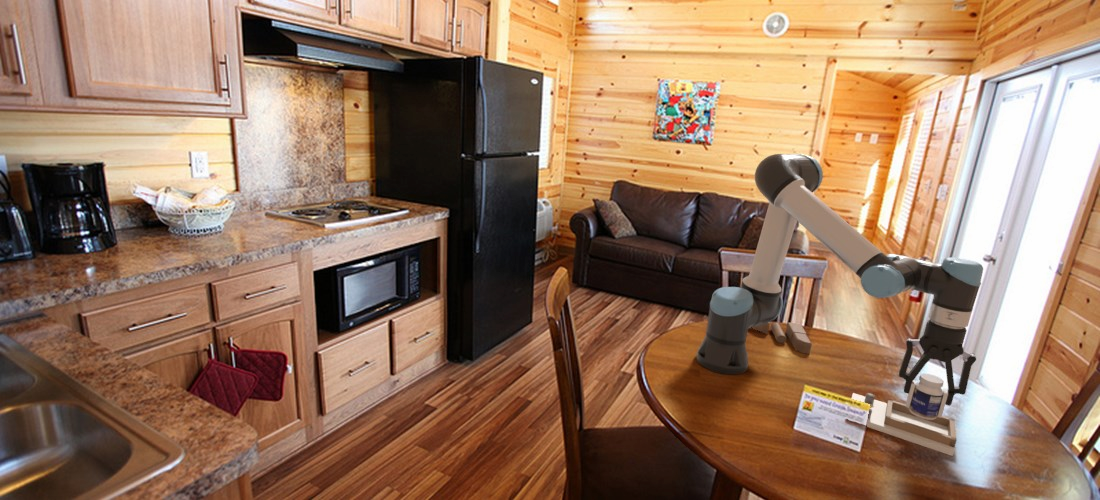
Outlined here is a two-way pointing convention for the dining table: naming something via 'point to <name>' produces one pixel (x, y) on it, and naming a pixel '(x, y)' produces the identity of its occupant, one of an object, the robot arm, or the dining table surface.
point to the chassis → (910, 424)
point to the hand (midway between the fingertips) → (923, 409)
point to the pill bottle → (927, 397)
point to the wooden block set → (793, 332)
